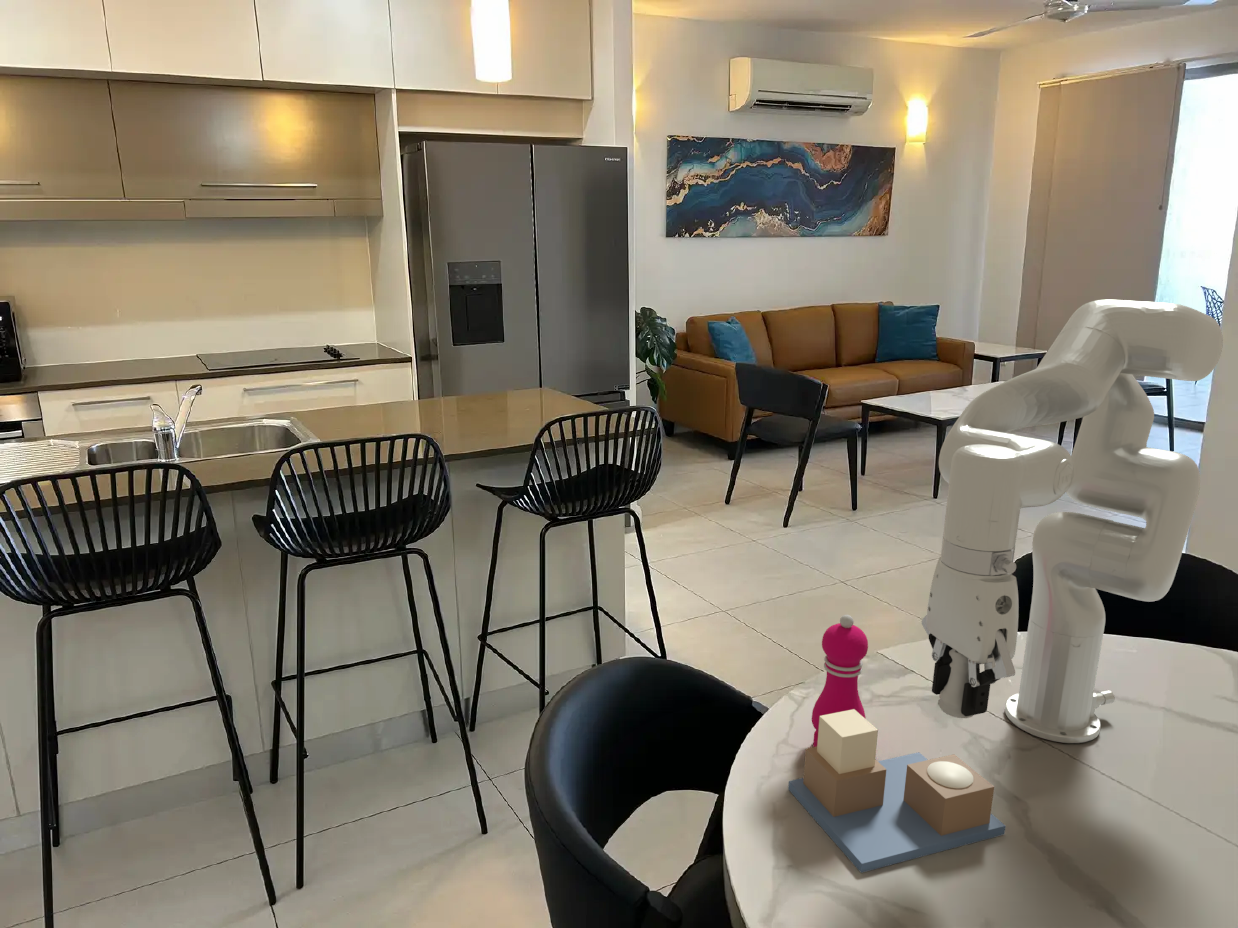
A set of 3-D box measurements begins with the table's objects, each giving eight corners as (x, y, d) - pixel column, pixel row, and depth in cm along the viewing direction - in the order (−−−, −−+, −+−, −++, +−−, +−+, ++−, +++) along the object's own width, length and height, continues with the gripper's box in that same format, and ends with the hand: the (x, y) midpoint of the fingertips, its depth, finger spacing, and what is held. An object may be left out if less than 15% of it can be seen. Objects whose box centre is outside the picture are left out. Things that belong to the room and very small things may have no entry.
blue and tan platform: (918, 759, 119) (926, 685, 116) (1004, 834, 105) (1016, 751, 102) (788, 788, 113) (793, 711, 110) (860, 872, 98) (869, 785, 95)
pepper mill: (830, 768, 117) (841, 631, 112) (799, 740, 124) (808, 609, 119) (874, 756, 120) (887, 621, 115) (841, 729, 127) (852, 600, 121)
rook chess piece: (981, 721, 101) (989, 658, 99) (940, 717, 102) (947, 654, 100) (973, 702, 105) (981, 640, 103) (934, 697, 106) (941, 636, 104)
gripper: (1062, 579, 92) (1038, 734, 97) (953, 528, 107) (937, 665, 112) (1005, 587, 89) (983, 746, 94) (901, 535, 105) (887, 674, 110)
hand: (958, 700), depth 103 cm, fingers closed on rook chess piece, 4 cm apart
